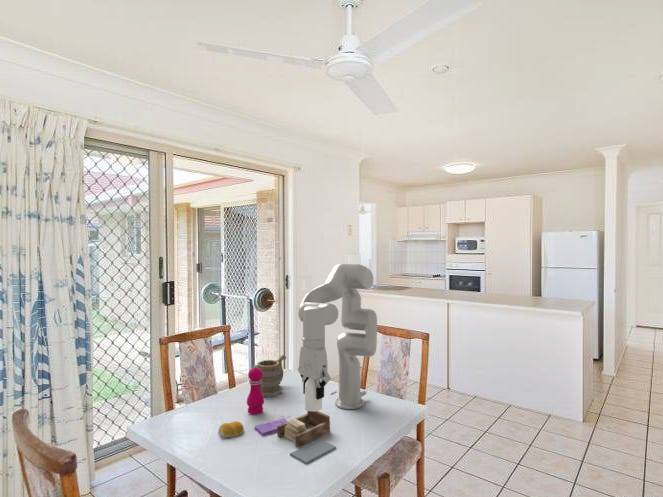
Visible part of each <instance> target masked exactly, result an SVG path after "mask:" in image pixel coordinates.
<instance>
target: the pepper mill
mask: <svg viewBox="0 0 663 497" xmlns="http://www.w3.org/2000/svg"><path fill="white" fill-rule="evenodd" d="M257 367H258V366H257V364H254V365H253V366H252V368H251V369H249V371H248V375H247V376H248V378H249V384H250V390H249V394H248V396H247V399H246V405H247V406H248V408H247V413H248V415H252V416H253V415H261V414H262V413H263V412H264V407H263V405H264V403H265V397H263V395H262V392H261V389H260V384H261V378H262V376H263V372H262V370H261V369H259V368H257Z"/></svg>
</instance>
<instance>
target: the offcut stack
mask: <svg viewBox="0 0 663 497" xmlns="http://www.w3.org/2000/svg"><path fill="white" fill-rule="evenodd" d="M306 430H307V428H306V426H305V424H304V423H302V422H300V421H299V420H297V419H295V418H294V419H291V420H287V426H285V435H284V437H285V438H287V439H288V440H290V441H292V442H294V443H296V435H297V434H299V433H301V432H304V431H306Z"/></svg>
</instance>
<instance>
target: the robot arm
mask: <svg viewBox="0 0 663 497" xmlns="http://www.w3.org/2000/svg"><path fill="white" fill-rule="evenodd" d="M373 284H374V274H373V272H372V270H371V269H369V268H368V267H366V266H365V265H363V264H355V263H339V264H336V265H334V266H333V268H332V270H330V273H329V274H328V277H327V278H326V280H325V282H324V284H321V285H319V286H317V287H315V288H313V289H312V290H310V291H309V292H308V293H306V295H304V298H303V299H302V301H301V302H300V305H299V308H298V312H297V313H298V319H299V320H300V321H301V322H302V339H301V340H302V345H301V347H300V351H299V352H300V353H299V358H298V368H297V372H298V373H299V375H300V377H301V381H302V384H303V388H302V389H303V392H302V394H303V395H305V383H306V381H307V380H308V379H309V378H312V379H315V380H316V382H317V386H318V387H316V399H321V398H322V399H323V398H324V397H325V387H326V385H327V384H328V383H329V382H330V381H331V379H332V378H331V376H330V374H329V371H328V370H329V368H328V367H329V366H328V365H329V364H328V356H327V350H326V349H327V348H326V344H325V343H326V336H325V335H326V326H330V325H333V324H335V322H336V321H337V320H338V318H339V308H338V307H337V306H336V305H335V304H334V303H333V304H332V303H331V302H335V301H337V300H339V299H341V318H340V319H341V320H340V321H341V326H342V327H343V328H344V329H346V330H353V331H364V332H365V333H359V332H342V333H340V334H339V335H338V337H337V338H336V347H337V354H338V398H336V399H335V402H334V403H335V406H336V407H338V408H340V409H343V410H357V409H360V408H363V406H364V404H365V401H364V400H363V399H362V398H363V396H366V395H367V391H366V390H361V362H360V361H359V358H358V356H359V357H374V356H375V354H376V352H377V347H378V346H377V345H378V316H377V313H376V312H375V310H373V309H370V308H362V306H361V305H362V296H361V294H360V292H359V291H358V290H369V289H371V288H372V287H373ZM320 380H321V381H322V382H321V383H320Z"/></svg>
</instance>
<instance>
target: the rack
mask: <svg viewBox="0 0 663 497" xmlns="http://www.w3.org/2000/svg"><path fill="white" fill-rule="evenodd" d="M330 417H331V416H330V415H328V414H325V413H323V412H321V411H320V410H319V411H307V413H305V414H303V415H300V416H298V417H296V418H294V419H297V420H299V421H300V422H302V423H304V424H305V427H307V426H311V427H310V428H308V429H306V431H304V432H301V433H299V434H297V435H296V442H295V447H296V448H301V447H303V446H305V445H307V444H309V443H312V442H314V441H316V439H317V440H318V439H320V438H321V437H323V436H325V435H327V434H329V433H330V431H331V421H330ZM285 426H287V422H285V423H283V424H280V425H278V426H277V432H276V434H277V437H278V438H282V437H285Z"/></svg>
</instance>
